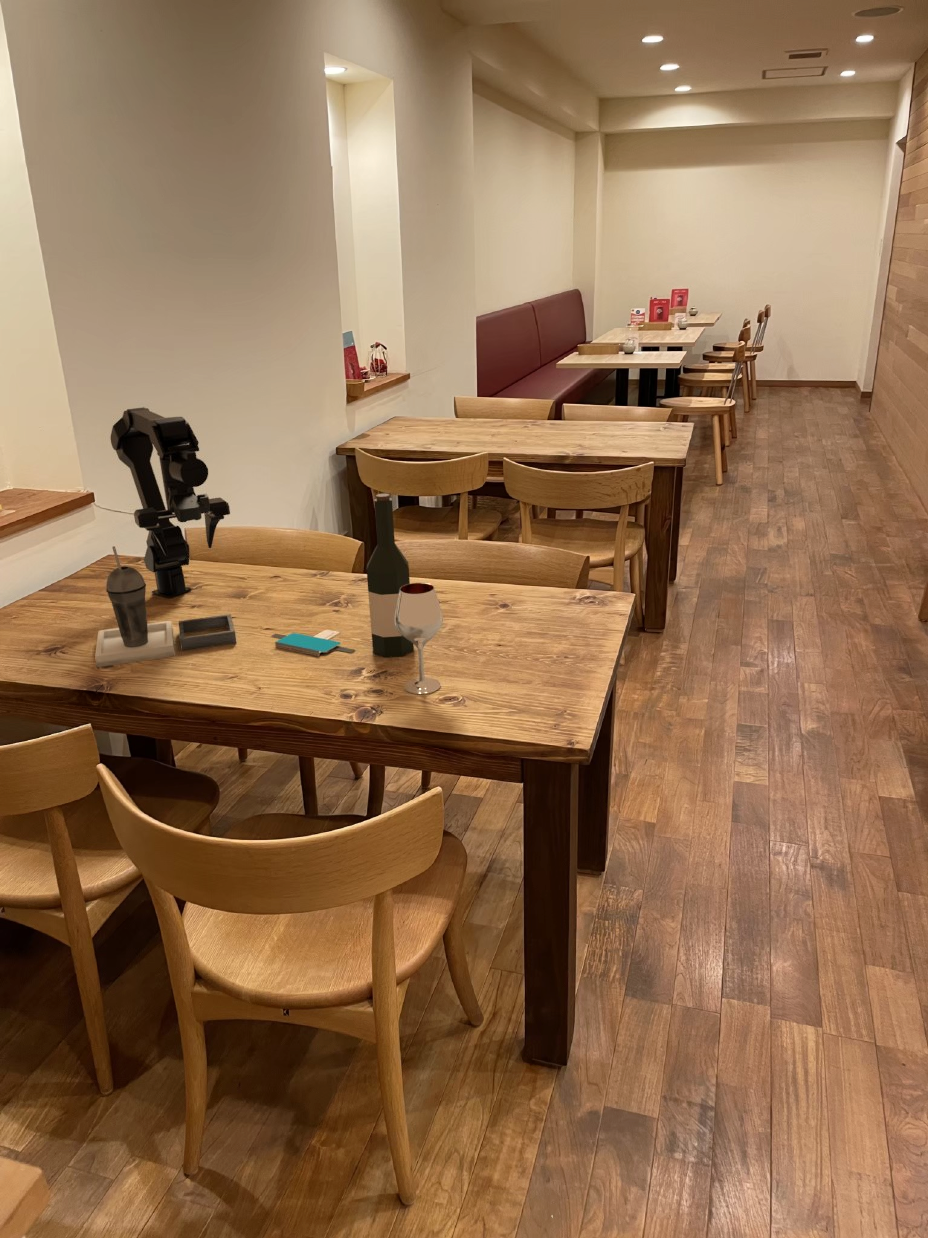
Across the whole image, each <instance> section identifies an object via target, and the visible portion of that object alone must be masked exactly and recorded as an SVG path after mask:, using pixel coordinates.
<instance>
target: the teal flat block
mask: <svg viewBox="0 0 928 1238" xmlns="http://www.w3.org/2000/svg"><path fill="white" fill-rule="evenodd" d="M340 634H341V631H335V630H330V629H324V630H322V631H321V632H320V633H317V634H316V635H313V636H312V635H308V634H303V633H302V634H301V633H298V632H297V633H296V632H291V633H290V634H288V635H285V634H280V633H274V634H272V635H271V637H273V638H277V639H278V640H276V641H275V642H274V645H275V647H276V648H278V649H279V648H280V649H284V650H287V651H288V650H289V651H293V652H297V653H303V654H307V655H311V656H315V657H320V654H321V653H323V654H322V655H323V656H324V655H326V654H328V653H329V652H330V653H332V652H334V651H338V652H345V653H354V652H355V651H356V649H353V648H348V647H345V646H340V645H341V644H342V643H341V641H336V640H332V639H333V638H334V637H336V636H338V635H340Z"/></svg>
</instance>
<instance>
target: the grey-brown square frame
mask: <svg viewBox="0 0 928 1238" xmlns="http://www.w3.org/2000/svg"><path fill="white" fill-rule="evenodd" d="M224 628H225V629H226V628H228V630H227V631H225V630H224V631H218V632H211V633H204V634H197V635H190V636H186V634H190V633H197V632H203V631H211V630H219V629H224ZM178 632H179V641H180V647H181V648H180V649H181V652H185V651H192V650H193V651H194V650H199V649H208V648H212V647H213V648H214V647H219V646H227V645H233V644H237V636H236V630H235V626H234V621H233V617H232V614H231V613H229V614H222V615H221V614H219V615H213V616H206V617H205V616H204V617H199V618H192V619H186V620H179V621H178Z"/></svg>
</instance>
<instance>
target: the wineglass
mask: <svg viewBox="0 0 928 1238" xmlns="http://www.w3.org/2000/svg"><path fill="white" fill-rule="evenodd" d="M394 622H395V626H396V628H397V630H398V632H399V633H400V634H401V635H402V636H403V637H404V638H406V639H407V640H409V641H410V642H412V643H413V645H414V646H415V647H416V649H417V652H418V653H417V654H418V655H417V656H418V669H419V677H417V678H416V677H415V678H412V679H409V680H407V681H406V682H405V683H404V685H403V689H404V691H406V692H407V693H409V694H412V695H413V694H414V695H428V694H433V693H434V692H437V691H438V690H439V689H440V688H441V682H440V680H438V679H436V678H434V677H433V678H432V677H427V676H426V677H425V668H424V667H425V665H424V664H425V663H424V648H425V646H426V645H427V644H428V642H430V641H431V640H433V638H434V637H435V636H437V634H438V633H439V632H440V630H441V628H442V627H443V622H444V616H443V610H442V608H441V604H440V601H439V598H438V594H437V592H436V589H435V586H434V585H433V584H431V583H426V582H412V583H411V582H410V584H407V585H404V586H402V587H401V588H400V590H399V595H398V599H397V604H396V610H395V617H394Z"/></svg>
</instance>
